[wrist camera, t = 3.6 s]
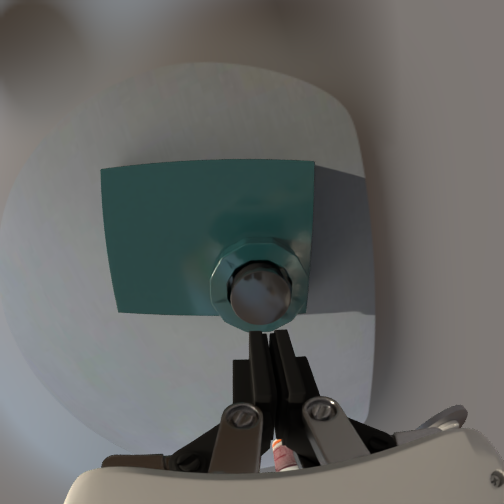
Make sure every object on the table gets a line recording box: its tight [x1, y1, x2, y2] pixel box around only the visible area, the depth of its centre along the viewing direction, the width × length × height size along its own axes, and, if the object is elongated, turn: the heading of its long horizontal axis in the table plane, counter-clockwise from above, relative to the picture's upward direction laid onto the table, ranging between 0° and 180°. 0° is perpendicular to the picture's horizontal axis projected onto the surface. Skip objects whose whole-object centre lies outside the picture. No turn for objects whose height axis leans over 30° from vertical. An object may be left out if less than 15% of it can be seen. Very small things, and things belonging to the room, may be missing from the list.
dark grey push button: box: [230, 262, 291, 325], centre depth 19 cm, size 4×4×2 cm
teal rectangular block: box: [101, 159, 315, 332], centre depth 20 cm, size 16×12×5 cm
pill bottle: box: [272, 439, 299, 472], centre depth 28 cm, size 5×5×8 cm
